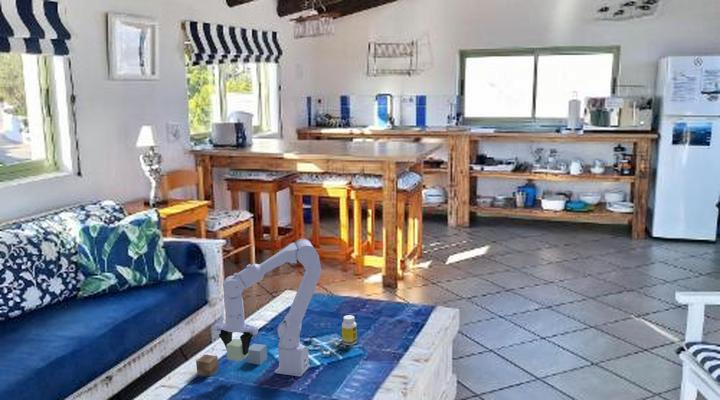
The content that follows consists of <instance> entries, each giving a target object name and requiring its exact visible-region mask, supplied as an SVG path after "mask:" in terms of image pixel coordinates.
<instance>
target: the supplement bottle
mask: <svg viewBox="0 0 720 400" xmlns="http://www.w3.org/2000/svg"><path fill="white" fill-rule="evenodd" d="M357 325H358V324H357V322H356V319H355V316H354V315H351V314H348V315H344V316H343V322H342V324H341V341H342V342H341V343H342V344H343V345H346V346H353V345H355V344H357V342H358V332H357V331H358V329H357V327H358V326H357Z"/></svg>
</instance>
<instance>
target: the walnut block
mask: <svg viewBox="0 0 720 400" xmlns="http://www.w3.org/2000/svg"><path fill="white" fill-rule="evenodd" d="M195 362H196V363H195V364H196V373H197V376H203V377H209V376H210V377H209V378H211V377H212V376H213V375H214V374H216V373H217V372H218V371H219V370H218V369H219V359H218V355H211V354H203V355H201V356H200V358H198V359H197V360H196V361H195ZM217 370H218V371H217ZM216 371H217V372H216ZM211 375H212V376H211Z"/></svg>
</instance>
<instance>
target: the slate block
mask: <svg viewBox="0 0 720 400" xmlns="http://www.w3.org/2000/svg"><path fill="white" fill-rule="evenodd" d="M267 359H268V351H267V344H261V343H260V344H259V343H252V344H251V345H249V355H248V356H247V357H246V363H247V364H251V363H252V365H253V364H254V365H260V366H261V365H262V364H263V363H264V362H265V361H266V360H267Z"/></svg>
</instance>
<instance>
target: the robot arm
mask: <svg viewBox="0 0 720 400" xmlns="http://www.w3.org/2000/svg"><path fill="white" fill-rule="evenodd" d="M297 261H298V262H299V263H300V264H301V265H302V266H303V268H304V270H305V272H304V274H303V276H302V278H301V281H300V284H299V286H298V289H297V291H296V294H295V297H294V298H293V302H292V304H291V306H290V308H289V311H288V313H287V314H285V316H284V319H283V320H282V321H281V322H280V323H279V324H278V325H277V334H278V338H279V341H278V342H277V343H278V344H277V348H278V349H277V350H278V363H279V364H278V365H279V366H278V368H277V369H275V370H274V373H275V374H280V375H286V376H287V375H288V376H295V377H302V376H303V374H305V372H306V371H308V369H309V368H310V366H311V365H310V360H309V347H307V345H304V344H302V343H301V342H300V341H301V336H300V334H301V331H302V324H303V319H304V317H305V314H306V312H307V309H308V307H309V304H310V302H311V299H312V297H313V295H314V293H315V290H316V287H317V285H318V283H319V280H320V277H321V275H322V272H323V270H322V266H321V261H320V255H319V253H318V252H317V250H316V249H315V247H314V245H313V243H312V242H311V241H310V240H309V239H307V238H299V239H298V240H296V241H295V242H292V243H289V244H288V245H287V246H286V247H284V248H282V249H281V250H280V251H279V252H278V251H277V252H276V253H275V254H274V255H272V256H271V257H269V258H268V259H266V260H264V261H263V262H261V263H260V264H259V263H253V264H251V263H248V264H247V265H246V267H245V268H244V269H242V270H240V271H239V272H235V273H233V275H229V276H227V277H226V278H225V279H224V281H223V284H222V287H223V292H224V309H225V319H226V320H225V321H226V322H225V323H216V324H214V332H219V331H220V332H219V334H218V337H219V339H221V341H222V343H223V344H224V346H225V349H226V350H227V344H228V343H230V342H231V341H232V340H233V333H239V334H241V333H242V334H241V335H240V336H239V339H241V342H242V346H243V354H244V355H246V354H247V353H248V350H249V347H250V346H251V345H250V344H251V342H252V338H253V336H256V335H258V333H259V327H258V326H254V325H250V324H248V323H247V324H246V321H245V309H244V307H245V306H244V298H243V295H242V294H243V292H244V291H245V290H246V289H249V288H251V287H252V286H254V285H255V284H257V283H258V282H260V281H262V280H263V279H264V277H265V274H266V273H269V272H271V271H273V270H274V269H276V268H278V267H280V266H282V265H284V264H285V263H292V264H297V263H298V262H297Z"/></svg>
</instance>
